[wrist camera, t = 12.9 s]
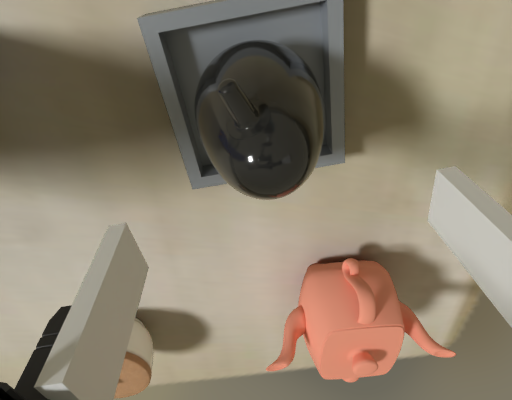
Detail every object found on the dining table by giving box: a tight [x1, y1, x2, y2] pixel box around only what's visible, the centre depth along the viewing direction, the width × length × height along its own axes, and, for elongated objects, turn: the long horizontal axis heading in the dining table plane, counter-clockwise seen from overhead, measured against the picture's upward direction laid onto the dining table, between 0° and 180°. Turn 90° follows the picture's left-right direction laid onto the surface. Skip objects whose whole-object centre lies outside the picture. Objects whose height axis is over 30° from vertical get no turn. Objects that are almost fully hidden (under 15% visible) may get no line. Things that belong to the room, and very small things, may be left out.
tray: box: [137, 0, 345, 189], centre depth 30 cm, size 15×15×3 cm
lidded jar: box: [114, 317, 154, 398], centre depth 46 cm, size 11×11×9 cm
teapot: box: [266, 258, 456, 382], centre depth 42 cm, size 15×17×13 cm
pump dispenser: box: [194, 40, 325, 200], centre depth 24 cm, size 10×10×15 cm
